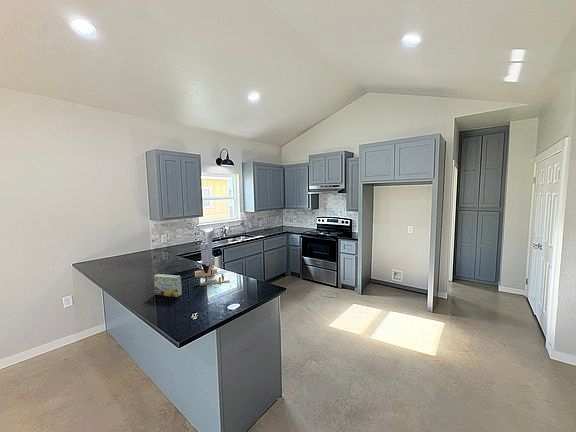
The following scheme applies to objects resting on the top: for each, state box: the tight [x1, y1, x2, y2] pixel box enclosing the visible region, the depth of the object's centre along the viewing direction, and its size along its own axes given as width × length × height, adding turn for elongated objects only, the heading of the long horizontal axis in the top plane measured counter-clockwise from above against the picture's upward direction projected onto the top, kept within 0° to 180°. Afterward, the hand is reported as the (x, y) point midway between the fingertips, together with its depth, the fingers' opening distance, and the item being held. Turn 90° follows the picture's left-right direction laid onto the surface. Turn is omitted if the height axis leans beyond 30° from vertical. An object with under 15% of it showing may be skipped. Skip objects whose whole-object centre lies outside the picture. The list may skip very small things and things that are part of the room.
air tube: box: [194, 267, 218, 278], centre depth 227 cm, size 18×4×4 cm, turn 121°
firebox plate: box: [199, 273, 230, 286], centre depth 229 cm, size 16×24×5 cm, turn 108°
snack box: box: [153, 273, 183, 298], centre depth 199 cm, size 21×6×15 cm, turn 73°
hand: (205, 272), depth 227 cm, fingers closed on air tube, 4 cm apart
